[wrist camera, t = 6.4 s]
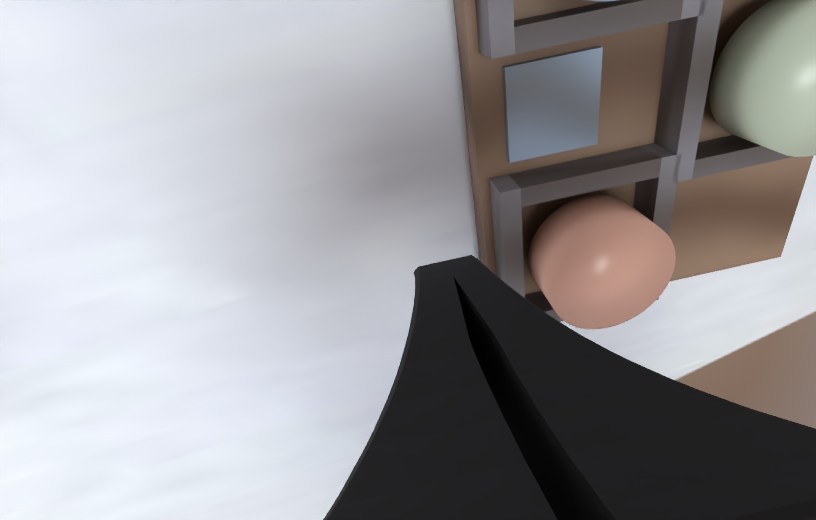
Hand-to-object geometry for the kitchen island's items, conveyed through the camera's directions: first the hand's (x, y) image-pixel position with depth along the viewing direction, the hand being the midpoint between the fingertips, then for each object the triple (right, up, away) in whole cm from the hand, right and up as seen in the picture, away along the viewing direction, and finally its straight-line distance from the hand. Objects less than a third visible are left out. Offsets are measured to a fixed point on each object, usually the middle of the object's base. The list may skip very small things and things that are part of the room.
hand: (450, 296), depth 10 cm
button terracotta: (+7, +1, +9) cm, 12 cm away
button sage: (+12, +8, +6) cm, 16 cm away
